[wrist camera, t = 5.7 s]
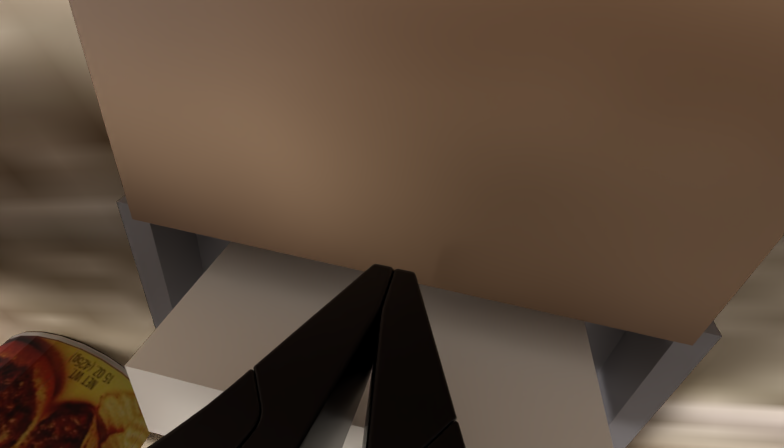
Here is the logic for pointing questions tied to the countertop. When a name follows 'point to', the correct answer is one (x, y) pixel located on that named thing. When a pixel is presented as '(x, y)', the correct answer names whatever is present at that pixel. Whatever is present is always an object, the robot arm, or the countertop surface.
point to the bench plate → (463, 141)
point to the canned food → (65, 396)
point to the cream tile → (454, 344)
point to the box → (608, 345)
